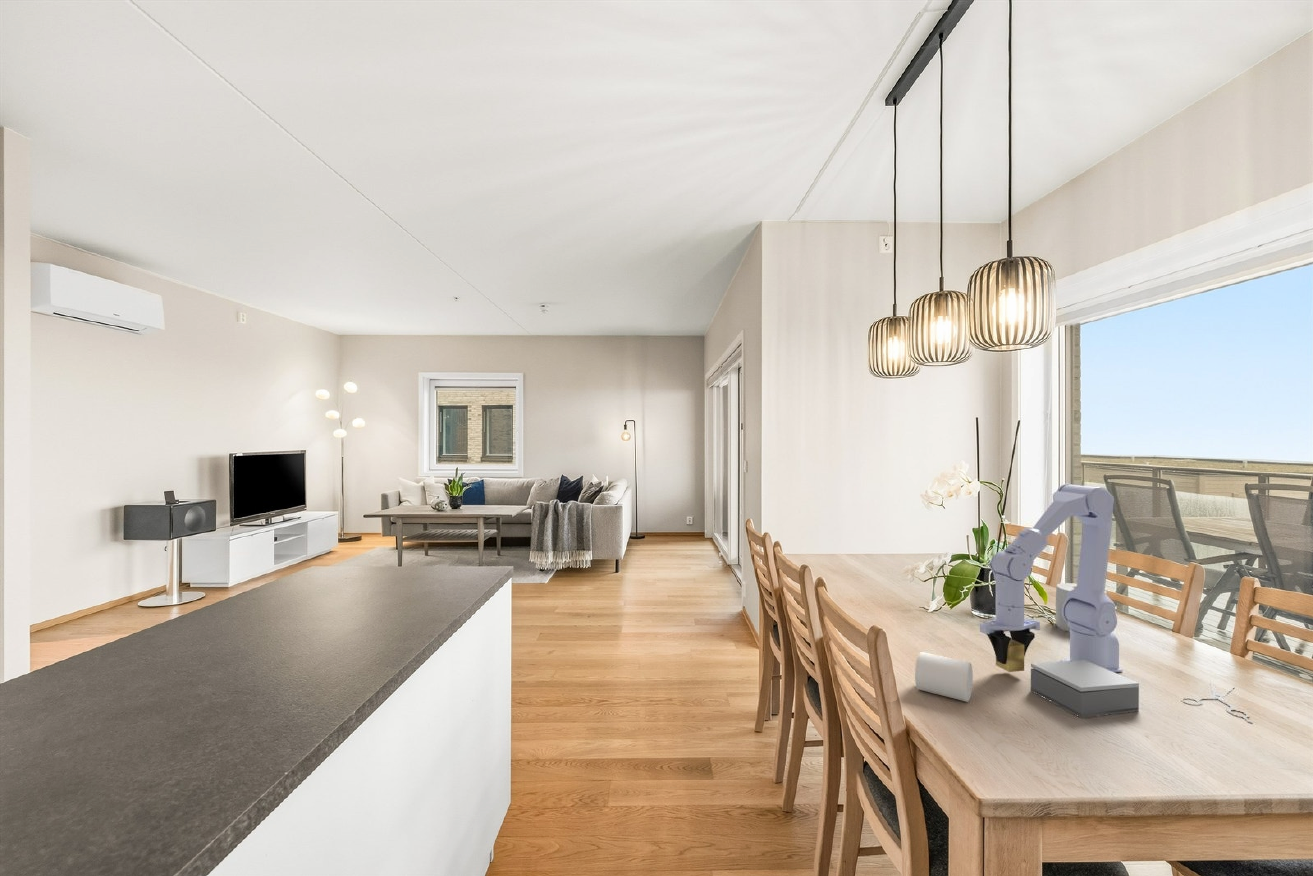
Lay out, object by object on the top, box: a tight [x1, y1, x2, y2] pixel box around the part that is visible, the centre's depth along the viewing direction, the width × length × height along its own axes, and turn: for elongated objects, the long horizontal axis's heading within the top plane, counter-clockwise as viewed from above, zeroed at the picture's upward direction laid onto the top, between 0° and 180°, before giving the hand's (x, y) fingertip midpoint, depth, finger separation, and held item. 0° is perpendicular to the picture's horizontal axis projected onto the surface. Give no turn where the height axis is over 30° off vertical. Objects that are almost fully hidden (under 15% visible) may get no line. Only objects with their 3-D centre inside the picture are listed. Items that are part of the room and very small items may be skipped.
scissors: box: [1180, 680, 1253, 724], centre depth 122 cm, size 11×1×20 cm
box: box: [1030, 667, 1140, 719], centre depth 121 cm, size 14×12×5 cm
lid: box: [1030, 660, 1140, 692], centre depth 121 cm, size 14×12×1 cm
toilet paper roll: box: [1055, 582, 1108, 633], centre depth 164 cm, size 12×12×12 cm
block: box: [995, 639, 1025, 673], centre depth 133 cm, size 4×4×6 cm
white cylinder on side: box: [914, 651, 974, 703], centre depth 126 cm, size 12×10×8 cm
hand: (1009, 661), depth 133 cm, fingers closed on block, 4 cm apart
